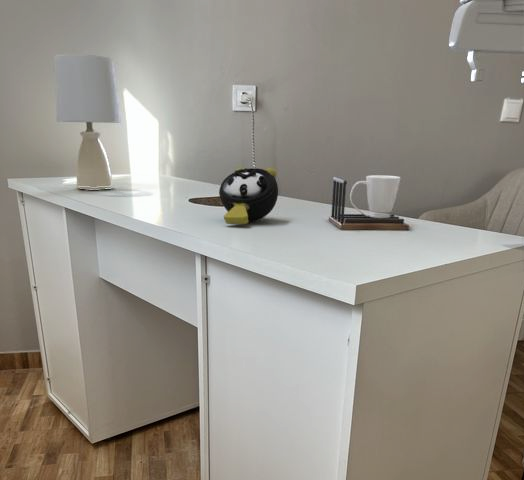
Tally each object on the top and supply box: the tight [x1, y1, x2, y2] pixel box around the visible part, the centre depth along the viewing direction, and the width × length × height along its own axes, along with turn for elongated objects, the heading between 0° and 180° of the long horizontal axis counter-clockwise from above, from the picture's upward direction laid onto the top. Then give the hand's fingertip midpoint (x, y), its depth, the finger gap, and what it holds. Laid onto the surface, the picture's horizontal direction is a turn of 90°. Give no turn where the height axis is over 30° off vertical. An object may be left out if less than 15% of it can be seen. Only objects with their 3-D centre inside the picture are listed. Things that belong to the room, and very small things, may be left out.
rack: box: [328, 176, 410, 231], centre depth 116 cm, size 14×12×9 cm
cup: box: [349, 174, 402, 218], centre depth 115 cm, size 7×10×8 cm
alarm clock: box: [218, 167, 279, 225], centre depth 118 cm, size 12×15×15 cm
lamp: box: [53, 53, 122, 189], centre depth 169 cm, size 19×19×37 cm
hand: (502, 81), depth 98 cm, fingers open, 8 cm apart
